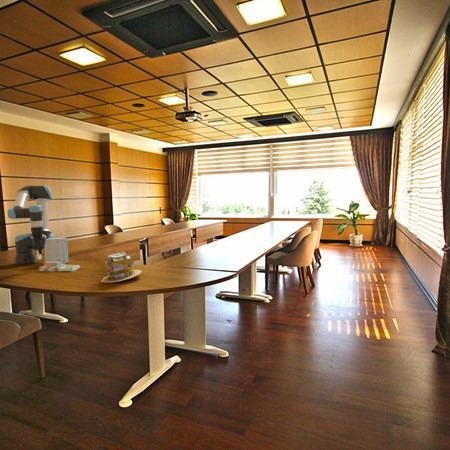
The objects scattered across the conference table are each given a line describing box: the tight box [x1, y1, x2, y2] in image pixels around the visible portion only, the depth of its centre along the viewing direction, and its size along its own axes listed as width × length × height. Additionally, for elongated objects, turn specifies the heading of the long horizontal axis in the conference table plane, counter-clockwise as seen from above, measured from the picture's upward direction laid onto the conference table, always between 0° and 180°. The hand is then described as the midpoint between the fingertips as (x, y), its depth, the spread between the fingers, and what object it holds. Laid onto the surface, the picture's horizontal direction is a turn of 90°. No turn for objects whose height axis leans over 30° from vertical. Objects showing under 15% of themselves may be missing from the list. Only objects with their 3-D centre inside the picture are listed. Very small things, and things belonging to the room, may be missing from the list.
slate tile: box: [51, 261, 61, 266], centre depth 223 cm, size 4×4×2 cm
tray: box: [57, 264, 81, 273], centre depth 222 cm, size 11×10×2 cm
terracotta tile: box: [43, 261, 54, 266], centre depth 223 cm, size 4×4×2 cm
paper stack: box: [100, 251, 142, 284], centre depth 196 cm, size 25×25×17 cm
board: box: [38, 263, 67, 272], centre depth 223 cm, size 14×10×3 cm
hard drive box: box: [43, 237, 70, 264], centre depth 242 cm, size 16×8×20 cm, turn 84°
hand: (39, 258), depth 223 cm, fingers closed
